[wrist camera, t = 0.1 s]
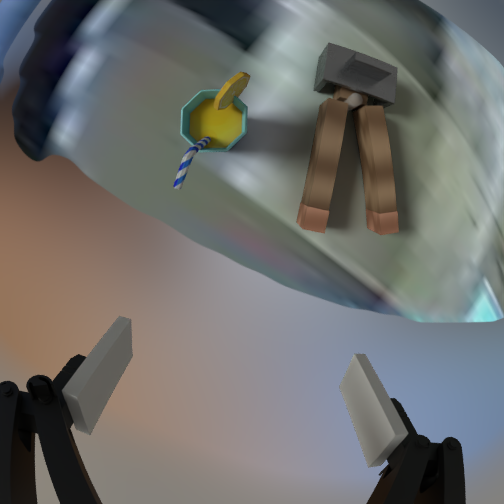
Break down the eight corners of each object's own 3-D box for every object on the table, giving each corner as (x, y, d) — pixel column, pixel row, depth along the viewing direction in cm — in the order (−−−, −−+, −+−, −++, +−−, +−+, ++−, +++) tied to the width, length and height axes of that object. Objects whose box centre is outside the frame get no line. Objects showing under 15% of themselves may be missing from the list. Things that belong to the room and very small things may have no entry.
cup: (225, 192, 40) (212, 204, 25) (177, 173, 39) (138, 175, 24) (264, 106, 36) (272, 71, 22) (215, 88, 35) (198, 46, 21)
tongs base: (324, 71, 35) (333, 59, 30) (360, 82, 35) (373, 73, 30) (296, 222, 41) (302, 229, 36) (333, 229, 41) (344, 237, 36)
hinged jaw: (351, 112, 36) (364, 105, 31) (369, 112, 36) (383, 105, 31) (367, 227, 41) (380, 235, 36) (383, 225, 41) (398, 232, 36)
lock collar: (318, 57, 33) (336, 30, 24) (380, 78, 34) (411, 59, 25) (313, 90, 35) (331, 68, 26) (377, 110, 36) (408, 97, 26)
